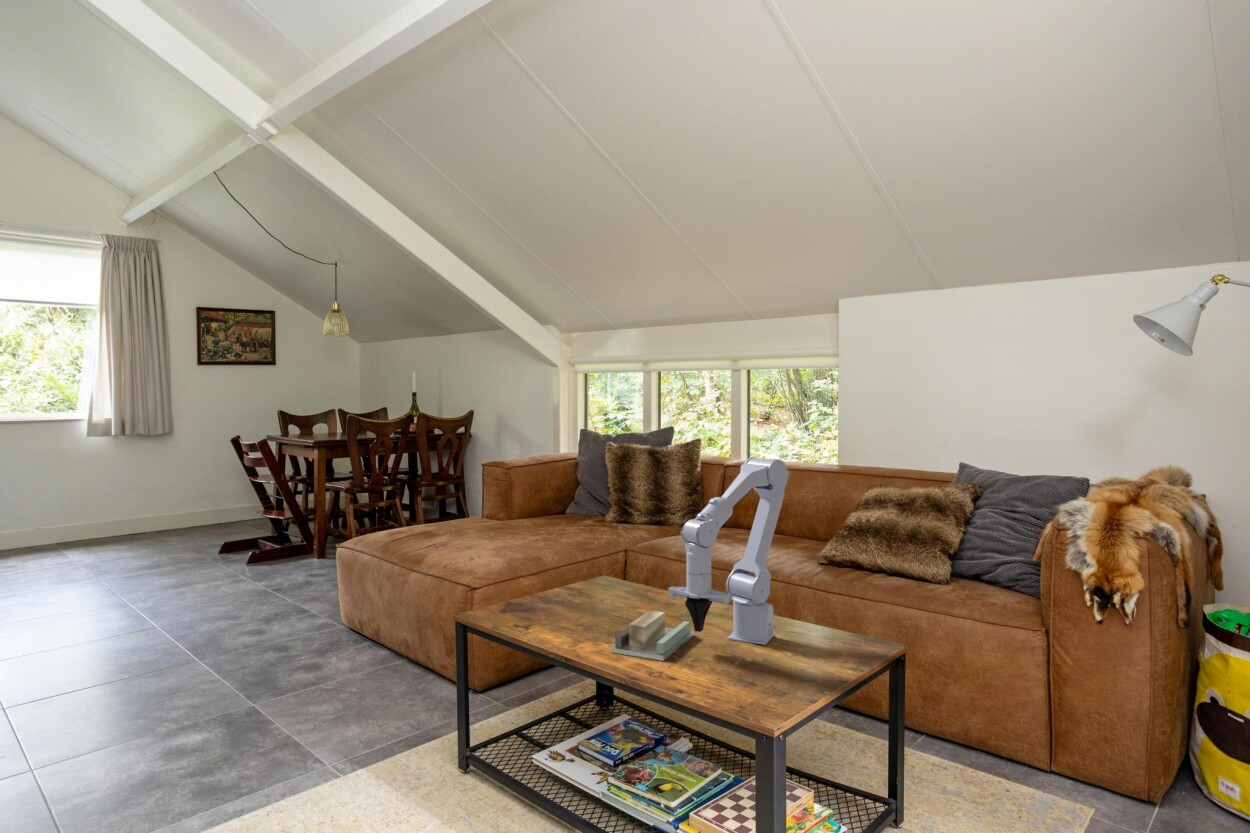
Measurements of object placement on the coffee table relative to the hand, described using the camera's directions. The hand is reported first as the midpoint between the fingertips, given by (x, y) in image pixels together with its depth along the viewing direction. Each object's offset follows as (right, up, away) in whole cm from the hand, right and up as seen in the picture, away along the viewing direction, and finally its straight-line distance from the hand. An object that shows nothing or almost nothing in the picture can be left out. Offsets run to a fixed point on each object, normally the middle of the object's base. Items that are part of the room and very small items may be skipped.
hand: (698, 630), depth 173 cm
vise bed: (-10, -5, +5) cm, 12 cm away
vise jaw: (-5, -4, +3) cm, 7 cm away
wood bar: (-12, -4, +6) cm, 14 cm away
